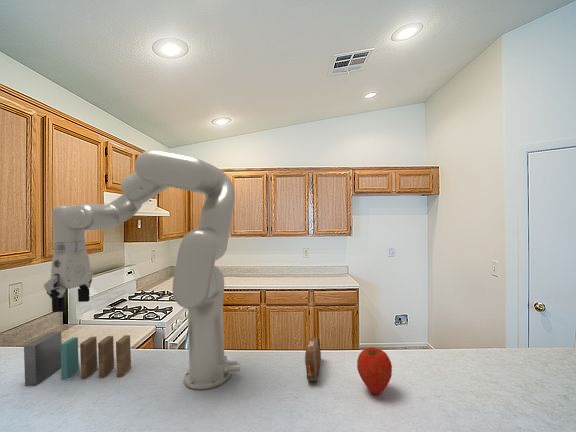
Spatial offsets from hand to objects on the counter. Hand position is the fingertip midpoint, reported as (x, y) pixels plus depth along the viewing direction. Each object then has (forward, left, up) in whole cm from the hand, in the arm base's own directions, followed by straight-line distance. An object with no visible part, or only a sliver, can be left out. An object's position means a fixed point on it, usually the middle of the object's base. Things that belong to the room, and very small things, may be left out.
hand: (71, 306), depth 88 cm
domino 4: (-14, 0, -20) cm, 25 cm away
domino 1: (+1, 0, -20) cm, 20 cm away
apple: (-84, +16, -20) cm, 88 cm away
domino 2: (-4, 0, -20) cm, 21 cm away
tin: (-70, +5, -20) cm, 73 cm away
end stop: (+8, 0, -20) cm, 22 cm away
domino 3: (-9, 0, -20) cm, 22 cm away
